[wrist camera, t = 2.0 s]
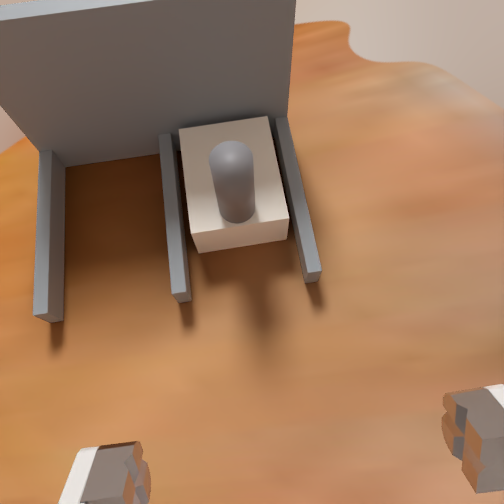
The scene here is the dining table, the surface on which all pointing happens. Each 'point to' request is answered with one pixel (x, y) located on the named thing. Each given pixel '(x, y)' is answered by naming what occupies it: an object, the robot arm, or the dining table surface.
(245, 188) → the pull block
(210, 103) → the lane rack
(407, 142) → the dining table surface
